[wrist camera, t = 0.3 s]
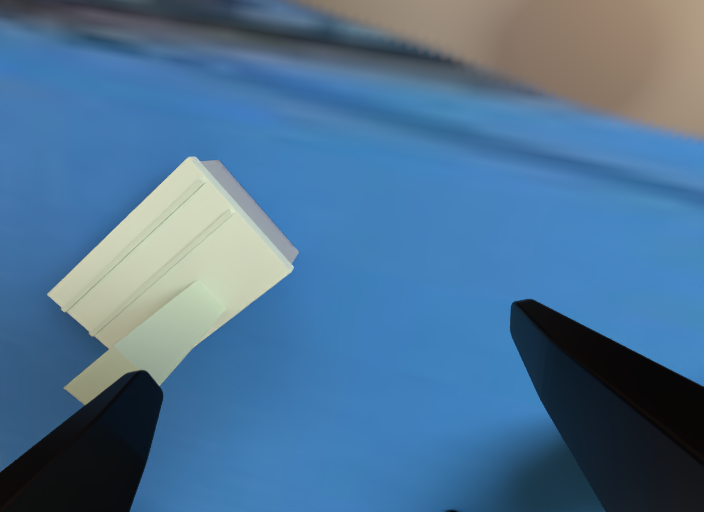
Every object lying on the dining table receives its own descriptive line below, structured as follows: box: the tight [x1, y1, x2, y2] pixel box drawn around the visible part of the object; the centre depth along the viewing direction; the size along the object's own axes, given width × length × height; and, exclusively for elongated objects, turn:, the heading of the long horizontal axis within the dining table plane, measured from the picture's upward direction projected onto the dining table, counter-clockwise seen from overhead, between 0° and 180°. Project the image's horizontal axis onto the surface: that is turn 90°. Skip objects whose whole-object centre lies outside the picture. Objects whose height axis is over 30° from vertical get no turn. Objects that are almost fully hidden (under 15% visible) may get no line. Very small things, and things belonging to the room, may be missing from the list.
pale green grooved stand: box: [47, 157, 294, 405], centre depth 17 cm, size 8×13×8 cm, turn 129°
